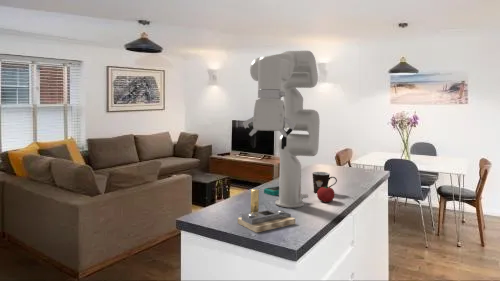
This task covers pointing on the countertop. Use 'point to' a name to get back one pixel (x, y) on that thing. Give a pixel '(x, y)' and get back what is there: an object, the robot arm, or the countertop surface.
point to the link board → (267, 224)
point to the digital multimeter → (272, 191)
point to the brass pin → (254, 200)
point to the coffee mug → (321, 180)
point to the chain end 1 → (259, 216)
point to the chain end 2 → (282, 215)
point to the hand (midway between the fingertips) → (268, 148)
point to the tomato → (325, 194)
